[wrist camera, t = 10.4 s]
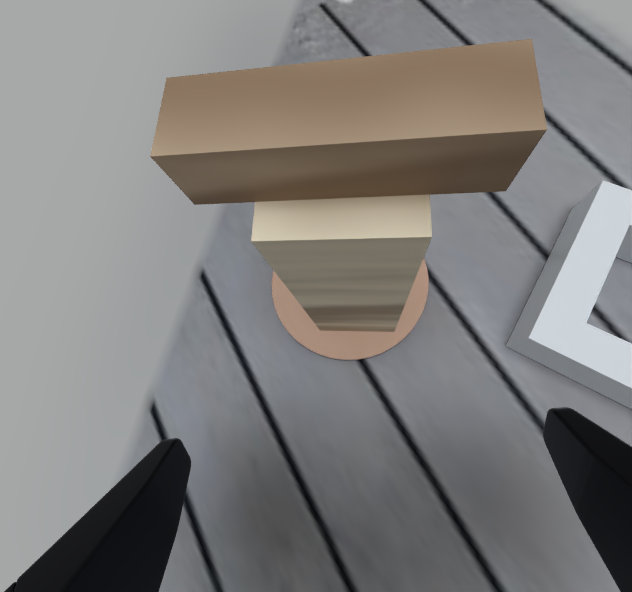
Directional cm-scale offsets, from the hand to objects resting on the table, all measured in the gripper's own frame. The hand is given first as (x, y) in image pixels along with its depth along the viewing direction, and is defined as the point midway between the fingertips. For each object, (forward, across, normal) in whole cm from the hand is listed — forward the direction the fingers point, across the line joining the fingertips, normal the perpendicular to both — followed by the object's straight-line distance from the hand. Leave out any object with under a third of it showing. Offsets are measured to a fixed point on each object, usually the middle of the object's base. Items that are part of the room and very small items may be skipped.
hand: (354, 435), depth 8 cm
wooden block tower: (+13, 0, +3) cm, 14 cm away
